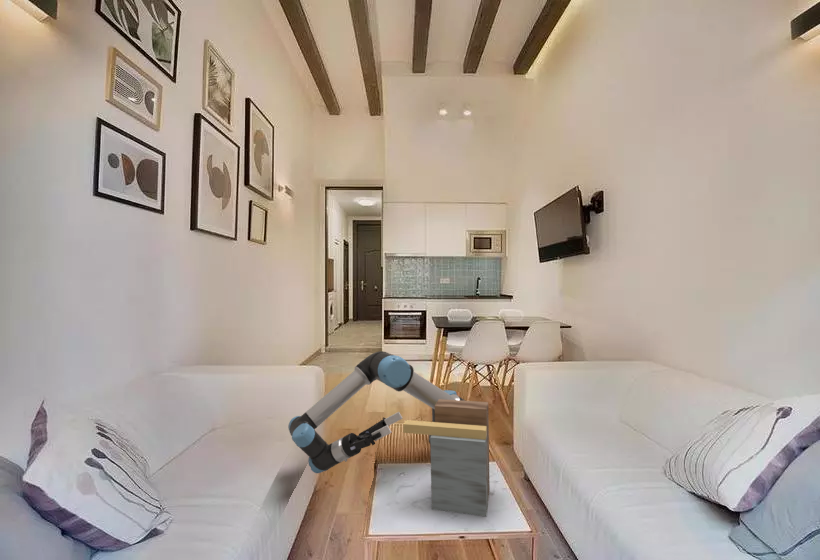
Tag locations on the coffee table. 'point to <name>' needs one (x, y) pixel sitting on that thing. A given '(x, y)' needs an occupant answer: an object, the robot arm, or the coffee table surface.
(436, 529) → the coffee table surface
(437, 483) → the stepped stand
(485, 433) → the ochre batten
